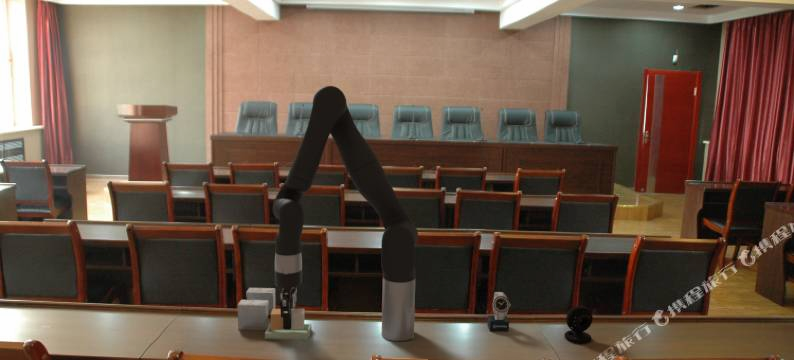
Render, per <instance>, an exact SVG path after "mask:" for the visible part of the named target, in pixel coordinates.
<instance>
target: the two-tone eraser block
mask: <svg viewBox="0 0 794 360" xmlns="http://www.w3.org/2000/svg"><path fill="white" fill-rule="evenodd" d="M285 313H288V312H287V311H285ZM270 323H271V330H274V329H283V318H282V317H281V311H280V308H275V309H272V312H271V315H270ZM304 324H305V308H295V309H292V316H291V329H304Z"/></svg>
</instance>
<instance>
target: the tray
mask: <svg viewBox="0 0 794 360" xmlns="http://www.w3.org/2000/svg"><path fill="white" fill-rule="evenodd" d="M311 333H312V323H304V329H290V330H284V329H274V330H271V322H269V323H268V327H267V329H266V330H265V332H264V339H265V340H280V341H281V340H282V341H283V340H284V341H285V340H286V341H289V340H290V341H309V338H310V335H311Z"/></svg>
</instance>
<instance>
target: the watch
mask: <svg viewBox="0 0 794 360" xmlns="http://www.w3.org/2000/svg"><path fill="white" fill-rule="evenodd" d="M510 307H512V305H511V303H510V301H509V299H508V297H507V295H506V294H505V293H504V292H502V291H495V292H494V294H493V301H492V310H493V311H492V312H493V315H487V324H486V325H487V328H488V331H489V332H509V330H510V321H509V318H508V316H507V315H508V311H509V309H510Z"/></svg>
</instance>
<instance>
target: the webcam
mask: <svg viewBox="0 0 794 360" xmlns="http://www.w3.org/2000/svg"><path fill="white" fill-rule="evenodd" d="M593 317H594V316H593V313H592V311H591V310H590V309H589V308H588V307H586V306H584V305H577V306H574V307H572V308H570V309H569V311H568V312H567V314H566V319H565V321H566V325H567V327H568V329H569V330H567V331H565V333H564V339H566V341H568V342H570V343H573V344H575V345H588V344H589V343H591V342H592V340H593V339H592V336H591V335H590V333H587V332H586V331H587V330H588V329H589V328H590V327H591V325H592V324H593V319H594V318H593ZM572 336H574V337H572Z"/></svg>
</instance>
